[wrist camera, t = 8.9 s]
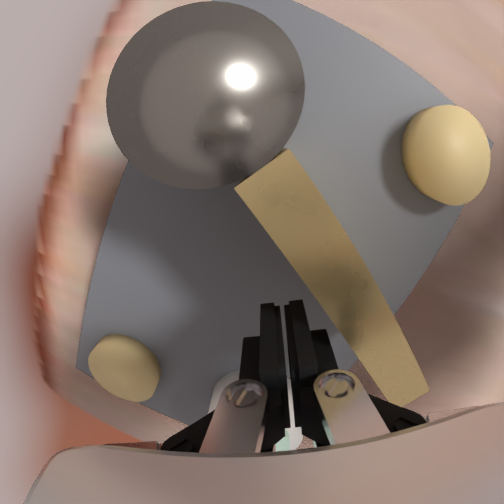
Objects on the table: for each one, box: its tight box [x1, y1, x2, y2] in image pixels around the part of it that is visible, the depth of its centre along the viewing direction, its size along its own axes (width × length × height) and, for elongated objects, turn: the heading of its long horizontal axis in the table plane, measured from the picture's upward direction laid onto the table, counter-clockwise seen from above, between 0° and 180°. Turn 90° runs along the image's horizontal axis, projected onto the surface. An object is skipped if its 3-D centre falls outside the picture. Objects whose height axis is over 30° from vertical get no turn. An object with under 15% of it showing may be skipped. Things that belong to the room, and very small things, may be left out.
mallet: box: [106, 1, 430, 407], centre depth 11 cm, size 15×5×7 cm, turn 37°
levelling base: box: [76, 0, 493, 452], centre depth 14 cm, size 28×17×7 cm, turn 153°
